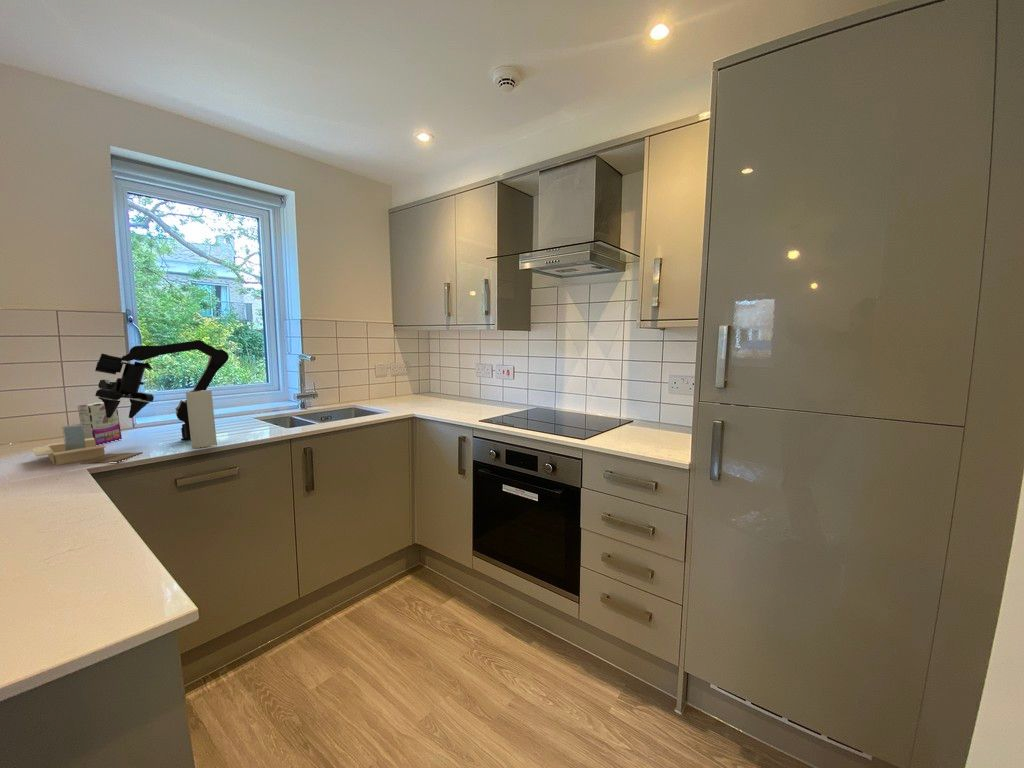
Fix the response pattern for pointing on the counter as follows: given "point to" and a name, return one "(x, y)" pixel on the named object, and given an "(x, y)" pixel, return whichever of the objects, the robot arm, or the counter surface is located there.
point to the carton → (70, 452)
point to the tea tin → (73, 437)
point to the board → (111, 458)
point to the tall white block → (201, 418)
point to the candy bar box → (99, 423)
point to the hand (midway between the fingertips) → (119, 417)
